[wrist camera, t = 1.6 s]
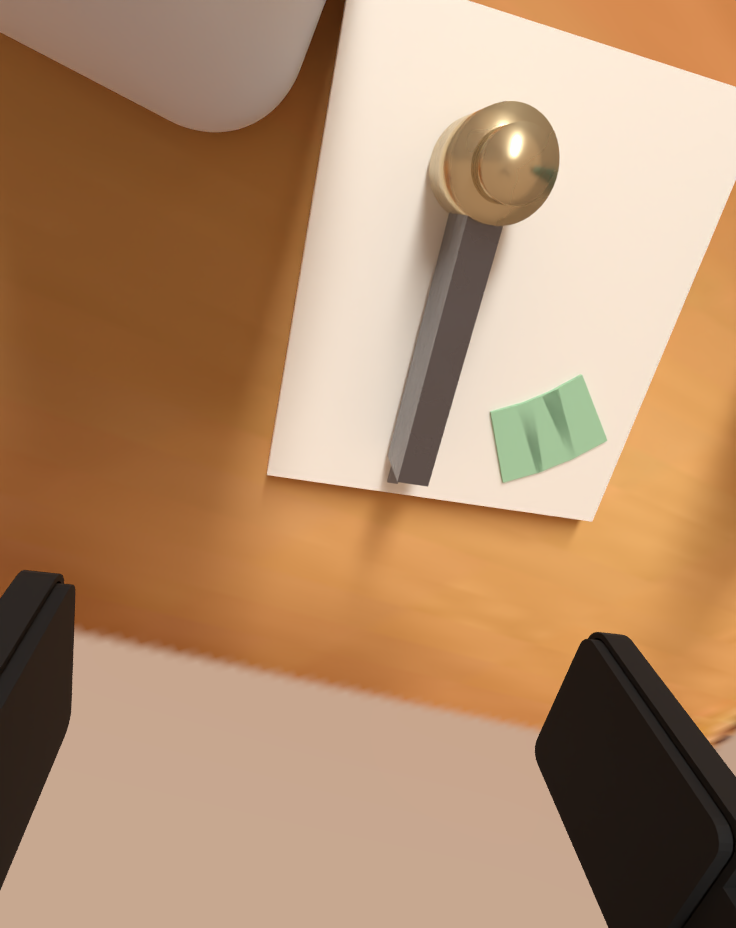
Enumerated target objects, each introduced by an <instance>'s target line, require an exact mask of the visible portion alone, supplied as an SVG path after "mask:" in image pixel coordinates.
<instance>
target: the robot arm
mask: <svg viewBox="0 0 736 928" xmlns="http://www.w3.org/2000/svg"><path fill="white" fill-rule="evenodd" d="M74 617H75V586H74V585H70V584H64V578H63V575H61V574H56V573H47V572H38V571H28V570H23V571H21V572H20V573H19V574H18V575H17V576H16V577H15V579H14V580H13V582H12V583H11V584H10V586H9V587H8V589H7V590H6V591H5V593H4V594H3V595H2V597H1V598H0V890H1V887H2V885H3V882H4V880H5V878H6V875H7V873H8V870H9V868H10V865H11V863H12V861H13V858H14V856H15V854H16V851H17V849H18V846H19V844H20V842H21V839H22V837H23V835H24V832H25V830H26V827H27V825H28V823H29V820H30V818H31V815H32V813H33V811H34V808H35V806H36V804H37V801H38V799H39V796H40V794H41V792H42V789H43V787H44V784H45V782H46V780H47V777H48V774H49V772H50V770H51V768H52V765H53V763H54V761H55V758H56V756H57V753H58V751H59V749H60V746H61V744H62V741H63V739H64V737H65V734H66V731H67V728H68V724H69V720H70V715H71V701H72V673H73V671H72V670H73V645H74ZM535 756H536V760H537V763H538V766H539V768H540V771H541V773H542V775H543V777H544V780H545V782H546V784H547V787H548V789H549V791H550V794H551V796H552V798H553V801H554V803H555V805H556V807H557V810H558V812H559V814H560V817H561V819H562V821H563V824H564V826H565V828H566V831H567V833H568V835H569V838H570V840H571V842H572V844H573V847H574V849H575V851H576V854H577V856H578V858H579V861H580V863H581V865H582V868H583V870H584V872H585V875H586V877H587V879H588V881H589V884H590V886H591V888H592V890H593V893H594V895H595V898H596V900H597V902H598V905H599V907H600V909H601V911H602V914H603V916H604V918H605V921H606V923H607V925H608V928H736V777H735V775H734V774H733V773H732V771H731V770H730V769H729V768H728V766H727V765H726V764H725V763H724V761H723V760H722V758H721V757H720V756H719V755H718V753H717V752H716V750H715V749H714V748H713V747H712V745H711V744H710V743H709V741H708V740H707V739H706V737H705V736H704V735H703V733H702V732H701V731H700V730H699V728H698V727H697V726H696V724H695V723H694V722H693V720H692V719H691V718H690V716H689V715H688V714H687V713H686V711H685V710H684V709H683V707H682V706H681V705H680V703H679V702H678V701H677V699H676V698H675V697H674V695H673V694H672V693H671V692H670V690H669V689H668V688H667V686H666V685H665V684H664V682H663V681H662V680H661V678H660V677H659V676H658V675H657V673H656V672H655V671H654V669H653V668H652V667H651V665H650V664H649V663H648V661H647V660H646V659H645V657H644V656H643V655H642V654H641V652H640V651H639V650H638V648H637V647H636V646H635V644H634V643H633V642H632V640H631V639H629V638H628V637H627V636H625V635H620V634H611V633H602V632H595V633H593V634H591V635H590V636H589V638H588V639H585V640H583V641H582V642H581V644H580V646H579V648H578V650H577V652H576V654H575V657H574V659H573V661H572V663H571V665H570V668H569V670H568V672H567V674H566V676H565V679H564V681H563V683H562V685H561V688H560V690H559V692H558V694H557V696H556V699H555V701H554V703H553V705H552V707H551V710H550V712H549V714H548V716H547V718H546V721H545V723H544V725H543V727H542V730H541V732H540V734H539V736H538V739H537V741H536V745H535Z"/></svg>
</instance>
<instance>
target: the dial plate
mask: <svg viewBox="0 0 736 928" xmlns="http://www.w3.org/2000/svg"><path fill="white" fill-rule="evenodd" d="M503 101H518V102H523V103H526V104H528V105H531V106H532V107H534V108H536V109H537V110H538V111H540V112H541V113H542V114H543V115H544V116H545V117H546V118H547V120H548V121H549V122H550V124H551V126H552V128H553V130H554V132H555V134H556V137H557V140H558V145H559V154H560V160H559V170H558V175H557V179H556V181H555V184H554V187H553V189H552V191H551V193H550V195H549V196H548V198H547V199H546V201H545V202H544V203H543V205H542V206H541V207H540V208H539V209H538V210H537V211H536V212H535V213H533V214H532V215H531V216H530V217H528V218H526V219H524V220H523V221H520V222H518V223H515V224H512V225H506V226H503V229H502V232H501V235H500V239H499V242H498V246H497V249H496V253H495V256H494V260H493V263H492V267H491V270H490V274H489V277H488V281H487V284H486V288H485V291H484V294H483V298H482V301H481V305H480V308H479V312H478V315H477V319H476V322H475V326H474V329H473V333H472V336H471V340H470V343H469V347H468V350H467V353H466V357H465V360H464V364H463V367H462V371H461V374H460V378H459V381H458V385H457V388H456V392H455V395H454V399H453V402H452V406H451V409H450V412H449V416H448V419H447V423H446V426H445V430H444V433H443V437H442V440H441V444H440V447H439V451H438V454H437V458H436V461H435V465H434V468H433V471H432V475H431V478H430V482H429V485H428V487H427V486H420V485H413V484H407V483H400V482H397V480H396V477H395V474H394V472H393V469H392V466H391V463H390V461H389V458H388V453H389V449H390V445H391V441H392V437H393V433H394V429H395V425H396V421H397V417H398V413H399V409H400V405H401V401H402V397H403V394H404V390H405V386H406V382H407V378H408V374H409V370H410V366H411V362H412V358H413V354H414V350H415V346H416V342H417V338H418V334H419V330H420V326H421V322H422V318H423V314H424V310H425V306H426V302H427V298H428V295H429V291H430V287H431V283H432V279H433V275H434V271H435V267H436V263H437V259H438V255H439V251H440V247H441V243H442V239H443V235H444V231H445V227H446V223H447V219H448V215H449V213H447V212H446V211H445V210H444V209H443V208H442V207H441V205H440V204H439V203H438V201H437V200H436V198H435V196H434V194H433V191H432V188H431V184H430V178H429V165H430V159H431V155H432V151H433V149H434V146H435V144H436V142H437V140H438V139H439V137H440V136H441V134H442V133H443V131H444V130H445V129H446V128H447V127H448V126H449V125H451V124H452V123H453V122H455V121H456V120H458V119H459V118H462V117H464V116H466V115H469V114H471V113H473V112H476V111H478V110H480V109H483V108H485V107H487V106H490V105H492V104H495V103H498V102H503ZM735 180H736V87H734V86H731V85H728V84H725V83H722V82H719V81H716V80H713V79H710V78H707V77H703V76H700V75H697V74H694V73H691V72H688V71H685V70H682V69H679V68H676V67H672V66H669V65H666V64H663V63H660V62H657V61H654V60H651V59H648V58H645V57H642V56H638V55H635V54H632V53H629V52H626V51H623V50H620V49H617V48H614V47H611V46H607V45H604V44H601V43H598V42H595V41H592V40H589V39H586V38H583V37H580V36H576V35H573V34H570V33H567V32H564V31H561V30H558V29H555V28H552V27H549V26H546V25H542V24H539V23H536V22H533V21H530V20H527V19H524V18H521V17H518V16H515V15H511V14H508V13H505V12H502V11H499V10H496V9H493V8H490V7H487V6H484V5H480V4H477V3H474V2H471V1H468V0H345V4H344V10H343V16H342V22H341V28H340V34H339V40H338V46H337V52H336V58H335V64H334V70H333V76H332V82H331V88H330V94H329V100H328V106H327V112H326V118H325V124H324V130H323V136H322V142H321V148H320V154H319V160H318V166H317V172H316V178H315V184H314V190H313V196H312V202H311V208H310V214H309V220H308V226H307V232H306V238H305V244H304V250H303V256H302V262H301V268H300V274H299V280H298V286H297V292H296V298H295V304H294V310H293V316H292V322H291V328H290V334H289V340H288V346H287V352H286V358H285V364H284V370H283V376H282V382H281V388H280V394H279V400H278V406H277V412H276V418H275V424H274V430H273V436H272V442H271V448H270V454H269V460H268V468H267V475H271V476H278V477H285V478H292V479H299V480H306V481H312V482H319V483H326V484H333V485H340V486H347V487H354V488H361V489H368V490H375V491H382V492H389V493H396V494H403V495H410V496H417V497H424V498H431V499H438V500H445V501H452V502H459V503H466V504H473V505H480V506H487V507H494V508H501V509H508V510H515V511H522V512H529V513H536V514H543V515H550V516H557V517H564V518H571V519H578V520H585V521H593V518H594V516H595V514H596V511H597V509H598V506H599V504H600V502H601V499H602V497H603V495H604V492H605V490H606V487H607V485H608V483H609V480H610V478H611V475H612V473H613V471H614V468H615V466H616V464H617V461H618V459H619V456H620V454H621V452H622V449H623V447H624V445H625V442H626V440H627V437H628V435H629V433H630V430H631V428H632V425H633V423H634V421H635V418H636V416H637V414H638V411H639V409H640V406H641V404H642V402H643V399H644V397H645V395H646V392H647V390H648V387H649V385H650V383H651V380H652V378H653V376H654V373H655V371H656V368H657V366H658V364H659V361H660V359H661V356H662V354H663V352H664V349H665V347H666V345H667V342H668V340H669V337H670V335H671V333H672V330H673V328H674V326H675V323H676V321H677V318H678V316H679V314H680V311H681V309H682V306H683V304H684V302H685V299H686V297H687V295H688V292H689V290H690V287H691V285H692V283H693V280H694V278H695V276H696V273H697V271H698V268H699V266H700V264H701V261H702V259H703V257H704V254H705V252H706V249H707V247H708V245H709V242H710V240H711V237H712V235H713V233H714V230H715V228H716V226H717V223H718V221H719V218H720V216H721V214H722V211H723V209H724V207H725V204H726V202H727V199H728V197H729V195H730V192H731V190H732V187H733V185H734V183H735Z"/></svg>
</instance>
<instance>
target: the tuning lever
mask: <svg viewBox="0 0 736 928" xmlns="http://www.w3.org/2000/svg"><path fill="white" fill-rule="evenodd" d="M559 160H560V154H559V145H558V140H557V137H556V134H555V132H554V130H553V128H552V126H551V124H550V122H549V121H548V120H547V118H546V117H545V116H544V115H543V114H542V113H541V112H540V111H538V110H537V109H536V108H534V107H532V106H531V105H528V104H526V103H523V102H518V101H503V102H498V103H495V104H492V105H490V106H487V107H485V108H483V109H480V110H478V111H476V112H473V113H471V114H469V115H466V116H464V117H462V118H459V119H458V120H456V121H455V122H453V123H452V124H451V125H449V126H448V127H447V128H446V129H445V130H444V131H443V133H442V134H441V136H440V137H439V139H438V140H437V142H436V144H435V146H434V149H433V151H432V155H431V159H430V165H429V178H430V184H431V188H432V191H433V194H434V196H435V198H436V200H437V201H438V203H439V204H440V205H441V207H442V208H443V209H444V210H445V211H446V212H447V213H449V215H448V219H447V223H446V227H445V231H444V235H443V239H442V243H441V247H440V251H439V255H438V259H437V263H436V267H435V271H434V275H433V279H432V283H431V287H430V291H429V295H428V298H427V302H426V306H425V310H424V314H423V318H422V322H421V326H420V330H419V334H418V338H417V342H416V346H415V350H414V354H413V358H412V362H411V366H410V370H409V374H408V378H407V382H406V386H405V390H404V394H403V397H402V401H401V405H400V409H399V413H398V417H397V421H396V425H395V429H394V433H393V437H392V441H391V445H390V449H389V453H388V458H389V461H390V463H391V466H392V469H393V472H394V474H395V477H396V480H397V482H400V483H407V484H413V485H420V486H427V487H428V485H429V482H430V478H431V475H432V471H433V468H434V465H435V461H436V458H437V454H438V451H439V447H440V444H441V440H442V437H443V433H444V430H445V426H446V423H447V419H448V416H449V412H450V409H451V406H452V402H453V399H454V395H455V392H456V388H457V385H458V381H459V378H460V374H461V371H462V367H463V364H464V360H465V357H466V353H467V350H468V347H469V343H470V340H471V336H472V333H473V329H474V326H475V322H476V319H477V315H478V312H479V308H480V305H481V301H482V298H483V294H484V291H485V288H486V284H487V281H488V277H489V274H490V270H491V267H492V263H493V260H494V256H495V253H496V249H497V246H498V242H499V239H500V235H501V232H502V229H503V226H506V225H512V224H515V223H518V222H520V221H523V220H524V219H526V218H528V217H530V216H531V215H532V214H533V213H535V212H536V211H537V210H538V209H539V208H540V207H541V206H542V205H543V203H544V202H545V201H546V199H547V198H548V196H549V195H550V193H551V191H552V189H553V187H554V184H555V181H556V179H557V175H558V170H559Z"/></svg>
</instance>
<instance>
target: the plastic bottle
mask: <svg viewBox="0 0 736 928" xmlns="http://www.w3.org/2000/svg"><path fill="white" fill-rule="evenodd" d="M325 2H326V0H0V32H1V33H3V34H4V35H6V36H8V37H10V38H12V39H14V40H16V41H18V42H20V43H22V44H24V45H26V46H27V47H29V48H31V49H33V50H35V51H37V52H39V53H41V54H43V55H45V56H47V57H49V58H50V59H52V60H54V61H56V62H58V63H60V64H62V65H64V66H66V67H68V68H70V69H72V70H73V71H75V72H77V73H79V74H81V75H83V76H85V77H87V78H89V79H91V80H93V81H95V82H96V83H98V84H100V85H102V86H104V87H106V88H108V89H110V90H112V91H114V92H116V93H118V94H119V95H121V96H123V97H125V98H127V99H129V100H131V101H133V102H135V103H137V104H139V105H141V106H142V107H144V108H146V109H148V110H150V111H152V112H154V113H156V114H158V115H160V116H162V117H163V118H165V119H167V120H169V121H171V122H173V123H175V124H178V125H180V126H183V127H186V128H189V129H193V130H197V131H204V132H228V131H233V130H238V129H241V128H244V127H247V126H249V125H251V124H253V123H256V122H257V121H259V120H261V119H262V118H264V117H265V116H266V115H268V114H269V113H270V112H272V111H273V110H274V109H275V108H276V107H277V106H278V105H279V104H280V102H281V101H282V100H283V99H284V98H285V96H286V95H287V94H288V92H289V91H290V89H291V88H292V86H293V84H294V82H295V80H296V78H297V76H298V74H299V71H300V69H301V66H302V63H303V61H304V58H305V55H306V53H307V50H308V47H309V45H310V42H311V39H312V37H313V34H314V31H315V29H316V26H317V23H318V21H319V18H320V15H321V13H322V10H323V7H324V5H325Z"/></svg>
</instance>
